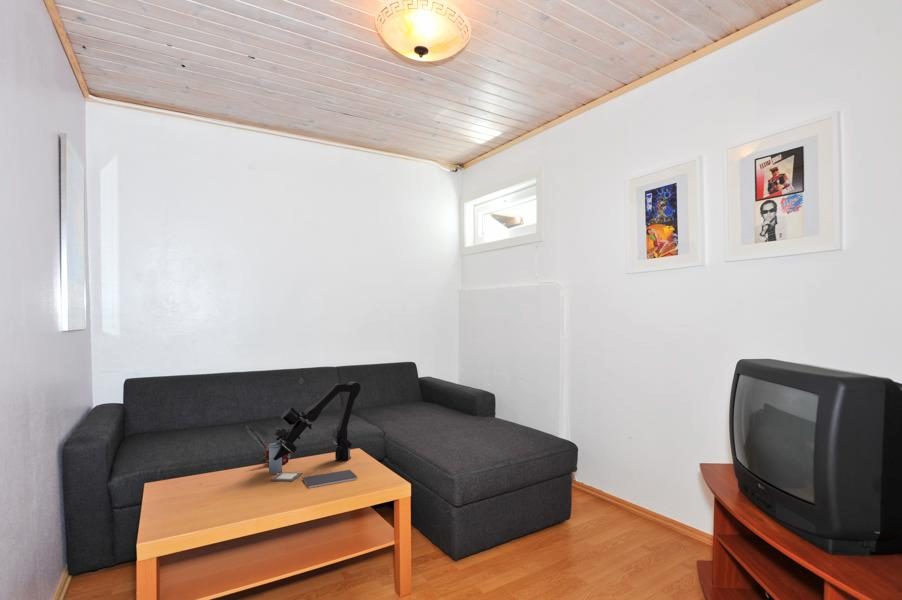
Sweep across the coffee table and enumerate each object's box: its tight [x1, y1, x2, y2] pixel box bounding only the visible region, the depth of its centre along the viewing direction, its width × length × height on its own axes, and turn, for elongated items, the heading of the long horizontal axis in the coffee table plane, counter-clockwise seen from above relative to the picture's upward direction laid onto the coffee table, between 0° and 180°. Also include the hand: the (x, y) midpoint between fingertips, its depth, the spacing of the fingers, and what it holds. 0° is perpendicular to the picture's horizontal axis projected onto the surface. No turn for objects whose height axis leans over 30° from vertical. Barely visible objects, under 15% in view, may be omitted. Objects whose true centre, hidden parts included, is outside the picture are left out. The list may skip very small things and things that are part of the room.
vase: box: [268, 442, 283, 475], centre depth 217 cm, size 6×6×13 cm
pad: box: [270, 472, 303, 482], centre depth 208 cm, size 10×10×1 cm
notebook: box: [302, 469, 358, 489], centre depth 204 cm, size 13×2×21 cm
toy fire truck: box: [264, 443, 292, 465], centre depth 231 cm, size 7×12×10 cm, turn 125°
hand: (272, 458), depth 216 cm, fingers closed on vase, 6 cm apart
